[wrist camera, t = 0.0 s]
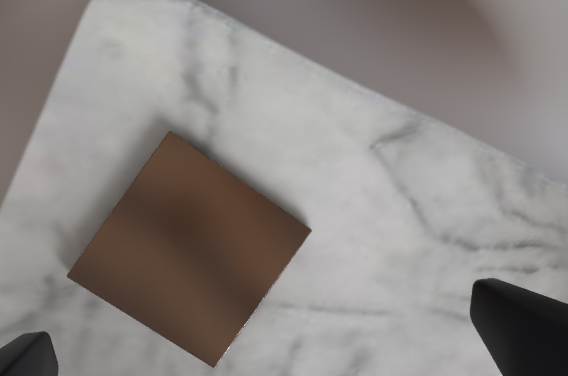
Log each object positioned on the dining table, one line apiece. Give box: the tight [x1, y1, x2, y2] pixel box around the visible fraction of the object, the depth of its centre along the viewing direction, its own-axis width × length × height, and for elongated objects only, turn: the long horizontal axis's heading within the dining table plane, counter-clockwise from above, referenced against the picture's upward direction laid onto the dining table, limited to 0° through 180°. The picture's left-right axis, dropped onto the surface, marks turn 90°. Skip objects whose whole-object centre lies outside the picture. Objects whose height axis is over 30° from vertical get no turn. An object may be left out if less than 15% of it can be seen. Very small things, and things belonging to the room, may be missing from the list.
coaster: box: [67, 131, 312, 368], centre depth 23 cm, size 10×10×1 cm
